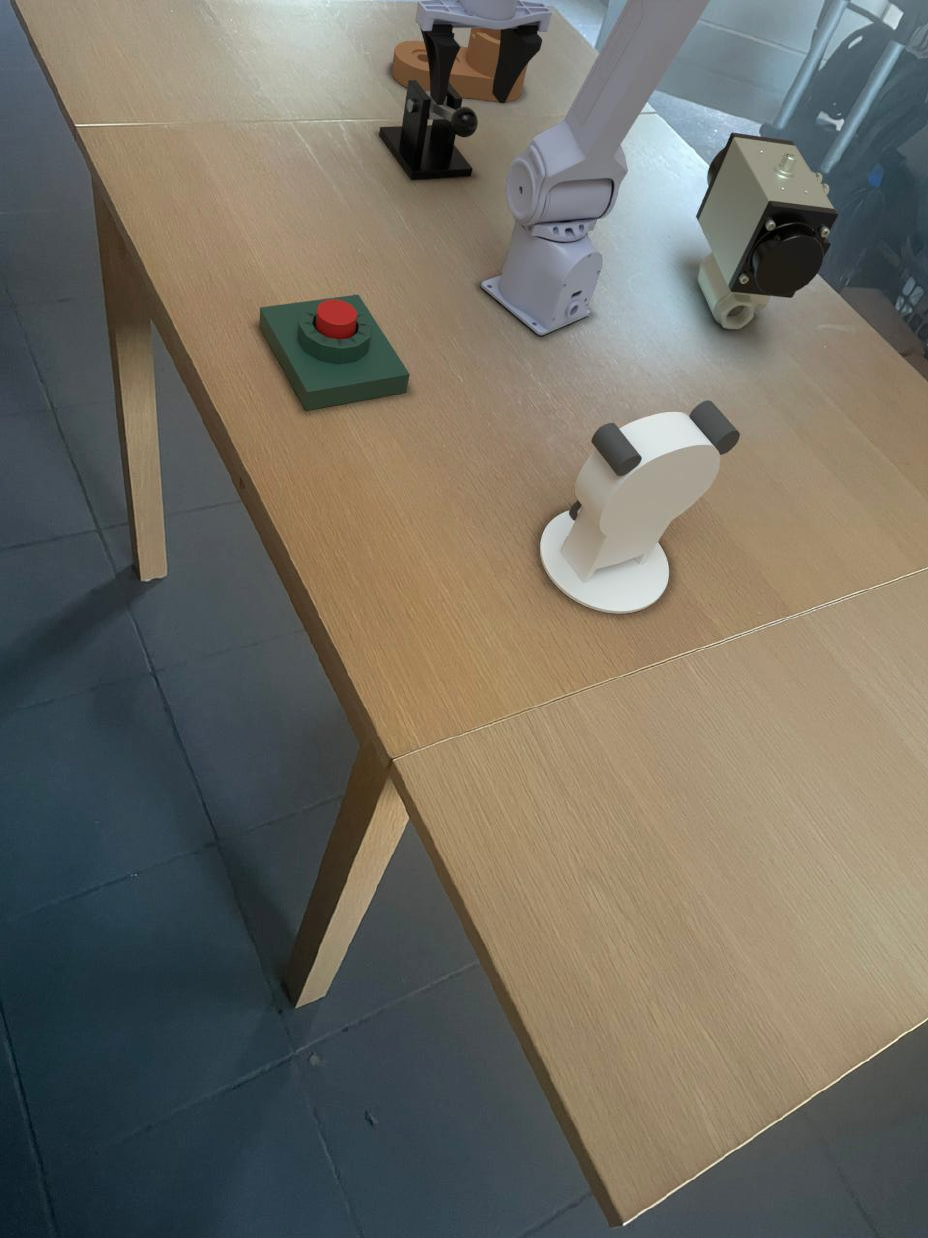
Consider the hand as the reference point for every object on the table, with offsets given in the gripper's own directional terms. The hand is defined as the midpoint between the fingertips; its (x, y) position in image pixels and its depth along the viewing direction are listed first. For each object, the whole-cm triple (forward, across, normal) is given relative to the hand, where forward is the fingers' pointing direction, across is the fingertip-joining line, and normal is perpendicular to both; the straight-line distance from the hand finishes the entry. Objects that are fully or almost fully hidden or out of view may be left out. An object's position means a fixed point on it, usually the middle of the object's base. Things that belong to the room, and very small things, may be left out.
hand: (468, 99), depth 100 cm
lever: (+5, 0, -3) cm, 6 cm away
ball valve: (+10, -23, +27) cm, 36 cm away
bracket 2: (+11, 0, -8) cm, 13 cm away
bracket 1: (+11, -13, -25) cm, 30 cm away
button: (+7, +25, +26) cm, 36 cm away
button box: (+10, +25, +26) cm, 37 cm away
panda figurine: (+10, +11, +55) cm, 57 cm away
